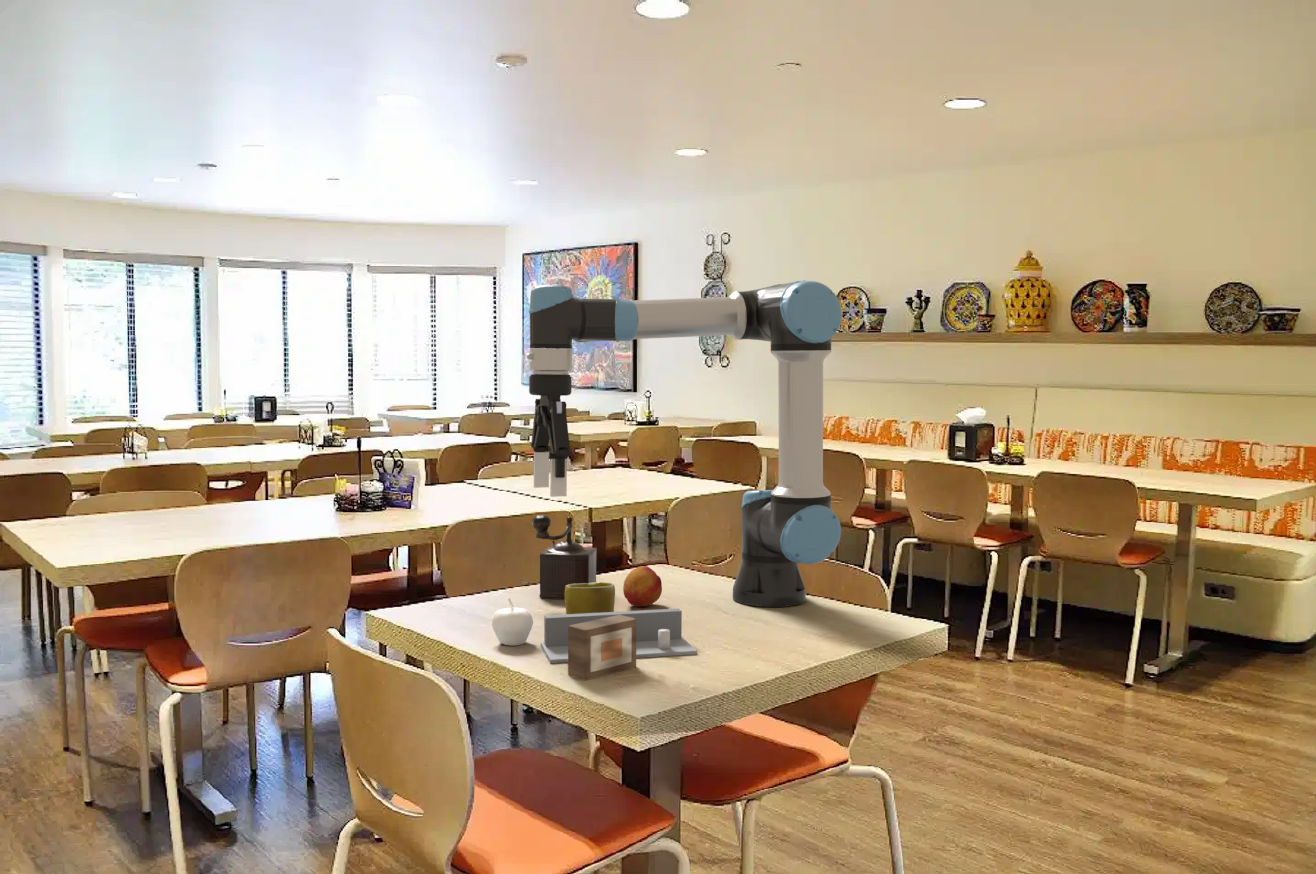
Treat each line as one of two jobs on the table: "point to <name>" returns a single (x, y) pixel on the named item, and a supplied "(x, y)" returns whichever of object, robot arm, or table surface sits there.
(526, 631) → the plain white apple
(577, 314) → the robot arm
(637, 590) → the fruit
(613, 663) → the picture block
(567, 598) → the mug
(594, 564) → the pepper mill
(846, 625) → the table surface
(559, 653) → the ledge
